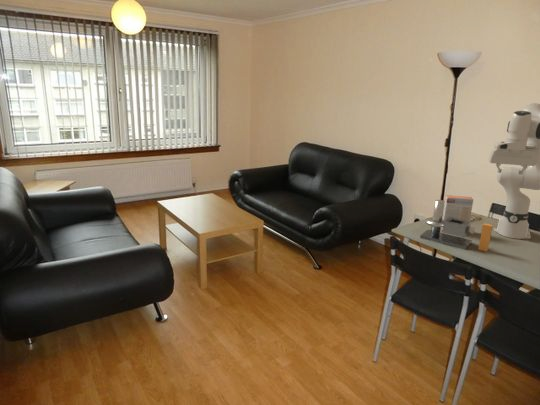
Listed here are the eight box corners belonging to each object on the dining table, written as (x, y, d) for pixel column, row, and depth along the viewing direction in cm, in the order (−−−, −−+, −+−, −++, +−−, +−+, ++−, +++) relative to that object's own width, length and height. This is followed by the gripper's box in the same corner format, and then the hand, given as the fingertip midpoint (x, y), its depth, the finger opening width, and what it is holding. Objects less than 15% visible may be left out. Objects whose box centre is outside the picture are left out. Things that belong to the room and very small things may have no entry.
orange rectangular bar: (479, 247, 209) (484, 223, 205) (487, 249, 206) (492, 224, 202) (478, 249, 207) (482, 224, 203) (486, 251, 204) (491, 226, 200)
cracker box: (465, 230, 234) (471, 196, 228) (467, 233, 228) (474, 199, 222) (440, 227, 237) (445, 194, 231) (442, 231, 232) (447, 197, 225)
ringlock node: (427, 231, 230) (432, 196, 224) (473, 243, 215) (480, 205, 208) (420, 237, 221) (425, 201, 215) (467, 250, 206) (474, 211, 200)
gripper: (537, 145, 191) (531, 173, 195) (491, 143, 196) (485, 170, 200) (542, 147, 185) (535, 176, 189) (494, 145, 190) (488, 173, 194)
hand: (509, 173), depth 194 cm, fingers open, 8 cm apart
